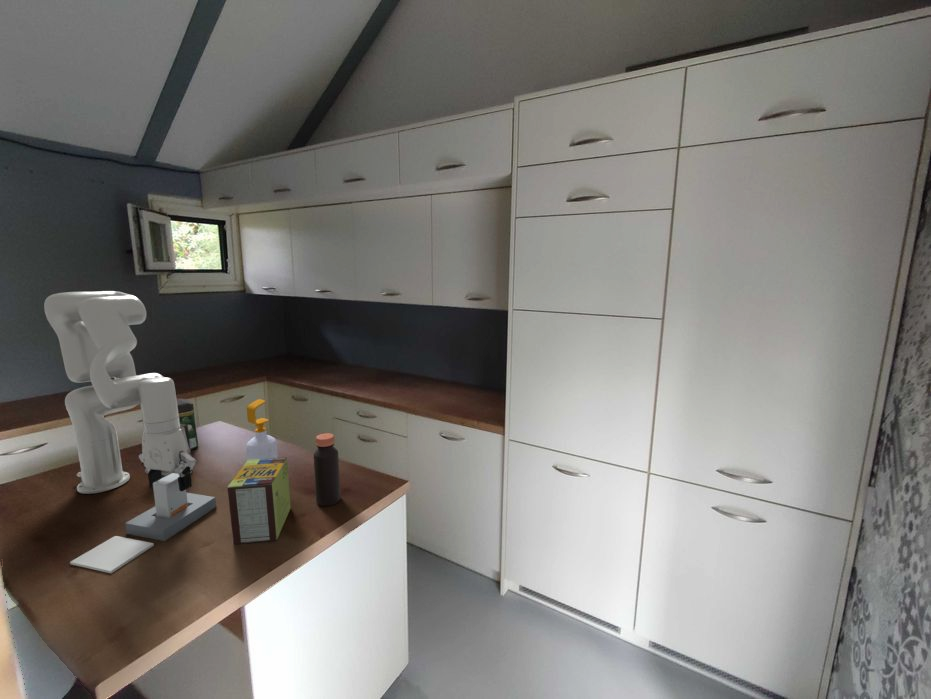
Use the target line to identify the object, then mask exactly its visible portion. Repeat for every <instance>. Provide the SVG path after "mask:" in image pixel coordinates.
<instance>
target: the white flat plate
mask: <svg viewBox="0 0 931 699" xmlns="http://www.w3.org/2000/svg"><path fill="white" fill-rule="evenodd" d="M154 544H155V543H154V542H149V541H145V540H140V539H139V540H138V539H135V538H134V539H133V538H129V537H128V538H127V537H123V536H118V535H115V536H112V537H110V538H109V539H107V540H105V541H103V542H102V543H100V544H98V545H96V546H95V547H93V548H92V549H90V550H88V551H86V552H84V553H83V554H81V555H80V556H78V557H77V558H74V559H73V560H71V561H70V562H69V564H70V565H71V566H76V567H81V568H84V569H85V568H86V569H90V570H95V571H99V572H103V573H108V574H113V573H114V572H116V571H117V570H119V569H120V568H122V567H123V566H125V565H126V564H128V563H130V562H131V561H133V560H134V559H136V558H137V557H139V556H140V555H141V554H143V553H144V552H146V551H147V550H149V549H151V548H152V547H154V546H155V545H154Z"/></svg>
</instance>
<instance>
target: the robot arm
mask: <svg viewBox="0 0 931 699" xmlns="http://www.w3.org/2000/svg"><path fill="white" fill-rule="evenodd" d="M43 304H44V305H43V306H44V307H43V309H44V314H45V316H46V320H47V321H48V323H49V325H50V327H51V328H52V329H53V330H54V332H55V334H56V336H57V338H58V341H59V346H60V352H61V356H62V360H63V364H64V370H65V374H66V376H67V378H68V380H70V382H73V383H78V384H79V383H87V382H88V383H89V382H91V385H88V386H82V387H79V388H75V389H74V390H71V391H70V392H69V393H67V395H66V396H65V399H64V405H65V409H66V411H67V413H68V415H69V418H70V421H71V424H72V428H73V432H74V437H75V443H76V448H77V454H78V459H79V460H78V461H79V467H80V471H79V472H77V474H76V476H77V477H79V478H81V481H80V483H78V485H77V486H76V490H77V492H78V493H79V494H84V495H85V494H87V495H90V494H98V493H99V494H100V493H104V492H107V491H110V490H113V489H115V488H118V487H121V486H122V485H124V484H126V483H127V482H128V481H130V478H131V477H130V473H129V472H127V471H124V470H123V466H122V465H123V464H122V457H121V450H120V445H119V438H118V432H117V428H116V425H115V424H114V423H113V422H112V421H110V420H108V419H106V418H105V417H104V416H107V415H110V414H113V413H118V412H123V411H126V410H131V409H133V408H135V407H136V406H137V405H140V412H141V417H142V424H143V432H142V436H141V437H142V438H141V452H142V453H140V454H139V455H138V459H139V460H140V462H141V466H142V467H143V468H144V469H145V470H144V472H145V473H147V478H148V484H149V485H148V486H149V488H153V483H154V482H156V481H158V480H160V479H161V478H163V475H161V470H162V471H173V470H175V471H176V472H177V473H178V475H179V476H180V477H178V483H179V490H180V491H184V490H186V491H187V490H188V489H189V488H191V487H192V486H193V484H192V476H191V473H193V470H194V469H195V464H196V462H197V459H196V458H194V457H192V455H191V456H190V455H188V453H187V447H186V443H185V439H184V436H183V433H182V430H181V429H180V422H179V414H178V407H177V400H176V399H177V394H176V387H175V382H174V379H172V378H171V377H165V376H163V375H162V374H160V373H158V372H150V373H149V372H148V373H144V374H143V373H142V374H138V375H137V372H136V367H135V366H136V365H135V361H134V358H133V356H132V354H131V351H132V350H134V349H135V348H136V346H137V344H138V340H137V337H136V336H135V334H134V333H133V331H132V329H131V326H132V325H141V324H143V323H144V322H145V321H146V319H147V310H146V307H145V304H144V303H143V302H142V301H141V299H139V298H138V297H137V296H135V295H133V294H129V293H125V292H122V291H115V290H101V291H68V292H67V291H66V292H58V293H53V294H51V295H49V296H48V297H46V299H45V300H44V303H43ZM112 378H114V379H112ZM181 467H183V468H184V470H183V471H182V470H181Z"/></svg>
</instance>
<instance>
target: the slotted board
mask: <svg viewBox="0 0 931 699" xmlns="http://www.w3.org/2000/svg"><path fill="white" fill-rule="evenodd" d="M186 493H187V502H188V507H187V508H185V509H183V510H182V511H180V512H179V513H177V514H175V515H174V516H172V517H170V518H169V519H166V518H161V517H157V515H156V507H155V506H152V508H150V509H148V510H145V511H144V512H142V513H141V514H139V515H137V516H135V517H133V518H132V519H130V520H128V521H126V522H125V523H124V524H125V531H126V534H127V535H130V536H135V537H142V538H147V539H152V540H156V541H157V540H158V541H162V542H165V541H167V540H168V539H170V538H172V537H173V536H175V535H176V534H178V533H179V532H181V531H182V530H184V529H185V528H187V527H188V526H189V525H191V524H193V523H194V522H196V521H197V520H199V519H200V518H202V517H203V516H205V515H206V514H207V513H209V512H211V511H212V510H214V509H215V508H217V500H216V496H210V495H205V494H197V493H193V492H186Z"/></svg>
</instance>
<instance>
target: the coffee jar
mask: <svg viewBox="0 0 931 699" xmlns="http://www.w3.org/2000/svg"><path fill="white" fill-rule="evenodd" d="M176 400H177V407H178V414H179V422H180V424H185V425H188V433H189V442H190V450H193V449H195V448H198V445H199V441H198V432H197V426H196V425H197V424H196V418H195V416H196V415H195V407H194V406H195V405H194V403H193V402H192V401H191V400H190V399H189V400H188V399H187V398H186V399H185V398H176Z"/></svg>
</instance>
